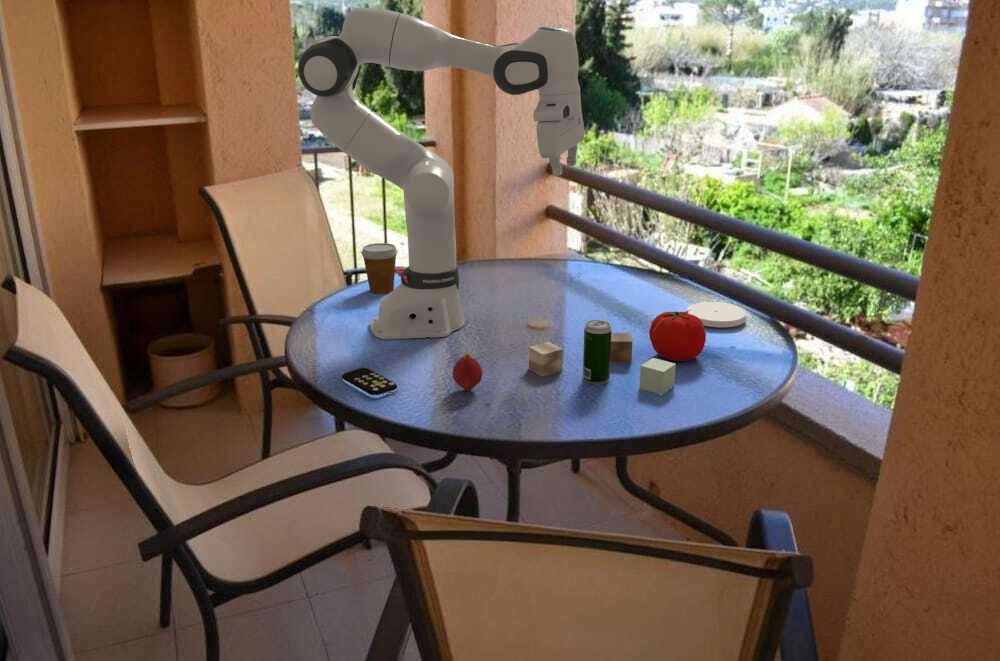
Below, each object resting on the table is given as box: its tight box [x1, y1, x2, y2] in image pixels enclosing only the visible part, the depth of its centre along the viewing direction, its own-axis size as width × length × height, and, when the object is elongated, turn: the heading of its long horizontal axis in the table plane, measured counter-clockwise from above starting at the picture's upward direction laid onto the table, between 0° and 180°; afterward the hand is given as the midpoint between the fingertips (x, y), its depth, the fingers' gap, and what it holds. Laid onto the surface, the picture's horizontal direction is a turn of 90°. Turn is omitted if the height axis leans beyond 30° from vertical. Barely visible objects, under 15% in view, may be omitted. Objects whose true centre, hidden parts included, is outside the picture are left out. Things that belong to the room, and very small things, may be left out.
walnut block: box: [610, 332, 633, 364], centre depth 179 cm, size 5×5×5 cm
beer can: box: [582, 319, 613, 386], centre depth 167 cm, size 5×5×12 cm
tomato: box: [648, 309, 707, 362], centre depth 179 cm, size 12×12×10 cm
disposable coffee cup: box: [360, 242, 398, 295], centre depth 224 cm, size 10×10×12 cm
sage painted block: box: [638, 357, 677, 395], centre depth 165 cm, size 5×5×5 cm
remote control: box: [341, 367, 398, 395], centre depth 168 cm, size 6×13×2 cm, turn 41°
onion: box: [452, 352, 483, 392], centre depth 164 cm, size 6×6×8 cm
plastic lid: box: [685, 301, 747, 328], centre depth 202 cm, size 14×14×2 cm
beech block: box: [528, 341, 564, 377], centre depth 174 cm, size 5×5×5 cm
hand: (564, 170), depth 185 cm, fingers open, 8 cm apart
